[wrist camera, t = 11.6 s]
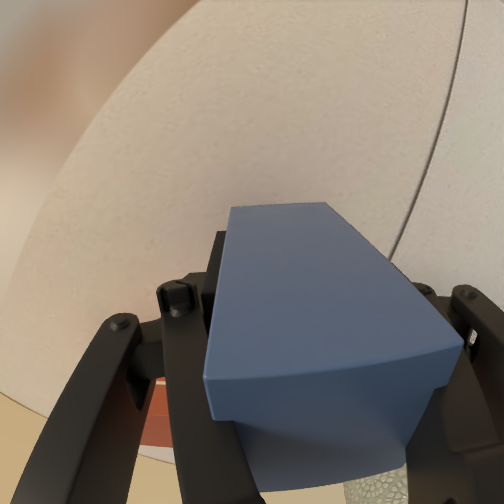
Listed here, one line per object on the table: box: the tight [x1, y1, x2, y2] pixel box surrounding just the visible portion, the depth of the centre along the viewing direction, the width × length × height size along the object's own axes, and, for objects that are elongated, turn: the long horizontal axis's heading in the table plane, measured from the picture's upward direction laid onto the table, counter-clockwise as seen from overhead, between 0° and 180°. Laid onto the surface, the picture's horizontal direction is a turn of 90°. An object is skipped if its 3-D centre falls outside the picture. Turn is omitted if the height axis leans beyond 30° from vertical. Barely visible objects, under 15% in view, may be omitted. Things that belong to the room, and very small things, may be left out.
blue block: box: [203, 202, 464, 492], centre depth 11 cm, size 5×5×12 cm
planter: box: [343, 463, 408, 504], centre depth 26 cm, size 17×17×15 cm
